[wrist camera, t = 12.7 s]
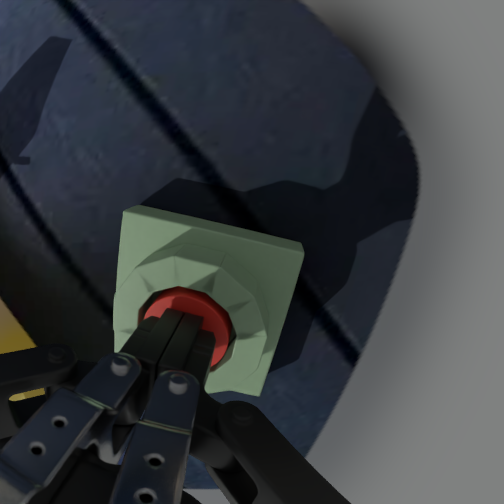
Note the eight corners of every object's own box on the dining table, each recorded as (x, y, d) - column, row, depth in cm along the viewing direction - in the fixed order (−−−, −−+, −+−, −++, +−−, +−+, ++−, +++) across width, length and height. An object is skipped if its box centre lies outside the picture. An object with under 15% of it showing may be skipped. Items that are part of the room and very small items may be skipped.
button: (241, 290, 14) (236, 308, 12) (225, 357, 15) (219, 380, 13) (160, 270, 14) (146, 285, 12) (152, 337, 15) (140, 357, 13)
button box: (302, 242, 15) (309, 267, 12) (261, 377, 17) (257, 421, 14) (138, 204, 15) (103, 217, 11) (125, 341, 17) (99, 376, 14)
